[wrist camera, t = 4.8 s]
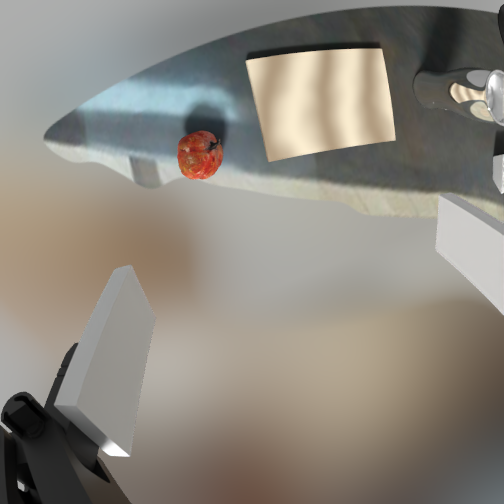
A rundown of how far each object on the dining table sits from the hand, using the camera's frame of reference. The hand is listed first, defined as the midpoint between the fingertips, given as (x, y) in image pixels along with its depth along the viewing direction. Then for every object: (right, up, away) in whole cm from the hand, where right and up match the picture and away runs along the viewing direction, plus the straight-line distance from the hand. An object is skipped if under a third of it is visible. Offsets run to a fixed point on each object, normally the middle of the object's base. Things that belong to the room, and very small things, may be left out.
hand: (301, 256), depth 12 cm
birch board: (+7, +19, +23) cm, 31 cm away
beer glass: (+24, +24, +22) cm, 41 cm away
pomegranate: (-8, +13, +25) cm, 29 cm away
